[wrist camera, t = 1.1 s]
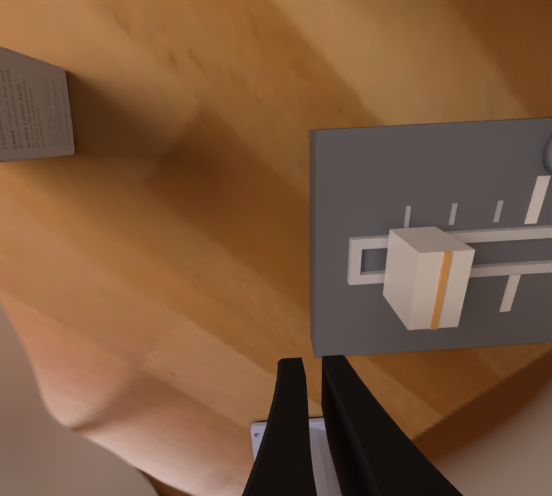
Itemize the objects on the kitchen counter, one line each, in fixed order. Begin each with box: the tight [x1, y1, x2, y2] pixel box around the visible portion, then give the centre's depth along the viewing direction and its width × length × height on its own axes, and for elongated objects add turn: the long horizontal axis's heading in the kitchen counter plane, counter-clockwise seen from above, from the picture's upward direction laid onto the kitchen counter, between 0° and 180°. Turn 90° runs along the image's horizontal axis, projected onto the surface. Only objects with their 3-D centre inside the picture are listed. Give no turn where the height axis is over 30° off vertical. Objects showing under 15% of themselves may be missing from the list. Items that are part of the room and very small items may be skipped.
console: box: [310, 117, 552, 358], centre depth 17 cm, size 14×16×3 cm
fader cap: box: [383, 226, 475, 330], centre depth 15 cm, size 4×2×4 cm, turn 3°
